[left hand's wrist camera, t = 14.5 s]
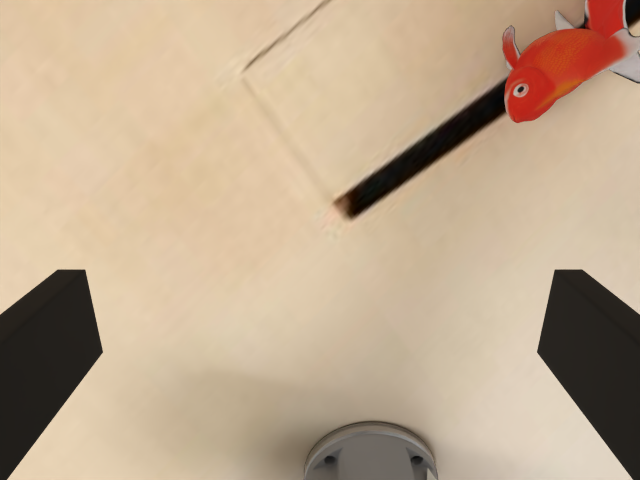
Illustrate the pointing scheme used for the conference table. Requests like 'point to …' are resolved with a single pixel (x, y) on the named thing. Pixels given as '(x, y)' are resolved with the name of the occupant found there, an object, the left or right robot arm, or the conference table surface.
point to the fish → (568, 58)
